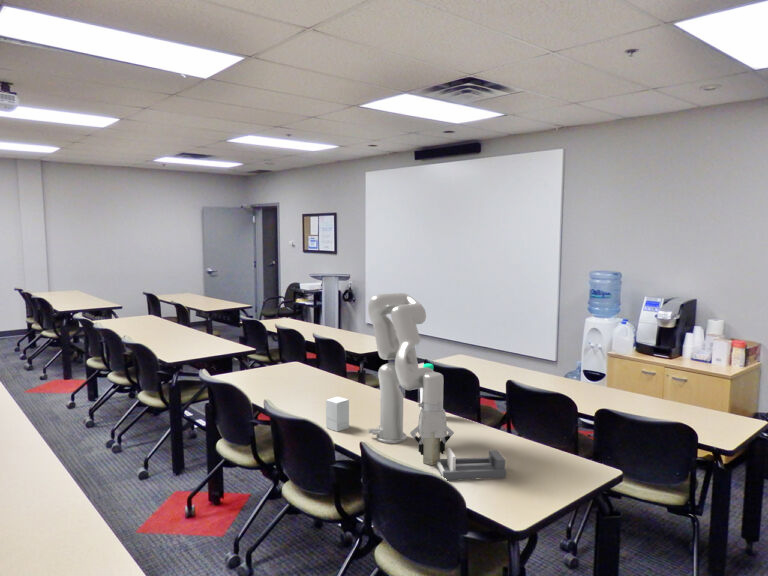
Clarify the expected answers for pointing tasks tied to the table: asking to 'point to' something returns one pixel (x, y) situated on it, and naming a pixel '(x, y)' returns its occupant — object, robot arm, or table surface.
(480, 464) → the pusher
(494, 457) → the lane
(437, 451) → the skincare box
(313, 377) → the table surface
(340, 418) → the supplement box
